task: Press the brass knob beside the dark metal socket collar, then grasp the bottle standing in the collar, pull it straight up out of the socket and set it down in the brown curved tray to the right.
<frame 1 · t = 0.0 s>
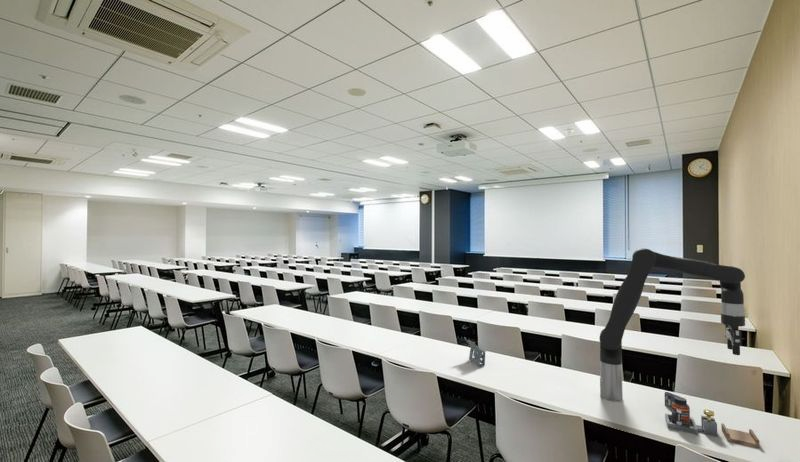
hand: (733, 352, 151), 29 cm above the table, fingers open, 8 cm apart
brass knob: (708, 419, 143), point 5 cm above the table, slide at 0.0 cm
mini dv tape: (675, 409, 163), on the table
bracket: (476, 363, 223), on the table
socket: (680, 426, 148), on the table
supplement bottle: (680, 426, 148), resting in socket
brown curved tray: (739, 438, 138), on the table
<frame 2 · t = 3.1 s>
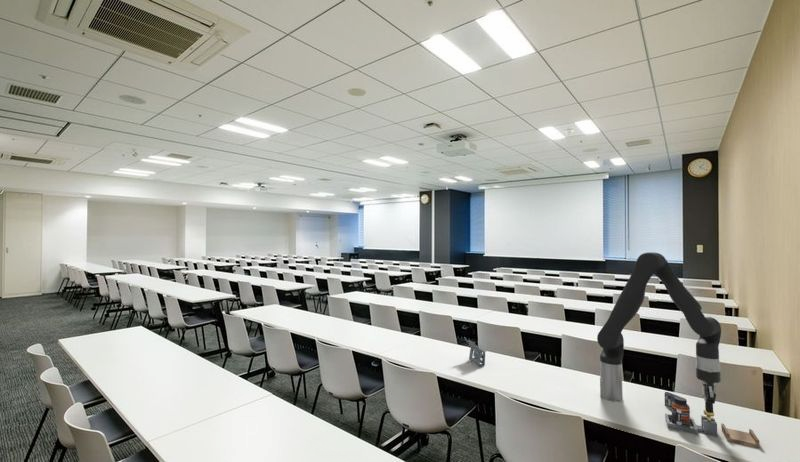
hand: (709, 411, 143), 8 cm above the table, fingers closed
brass knob: (708, 419, 143), point 5 cm above the table, slide at 0.1 cm, touching gripper
everything else where it was.
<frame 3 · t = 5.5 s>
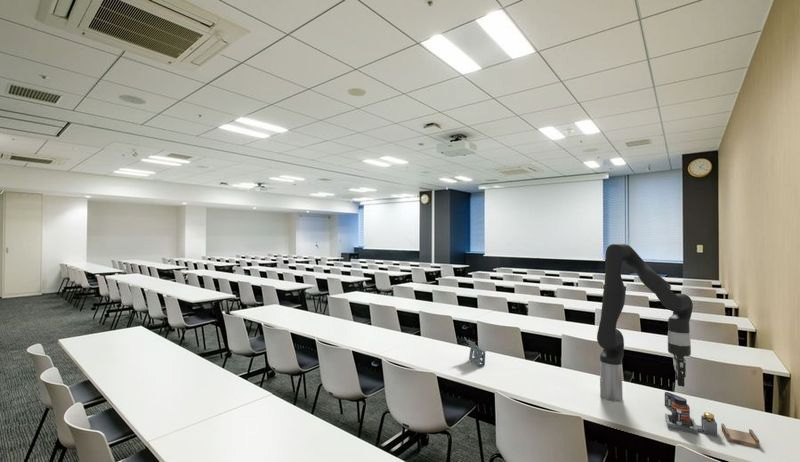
hand: (679, 383, 148), 18 cm above the table, fingers open, 6 cm apart
brass knob: (709, 422, 143), point 4 cm above the table, slide at 1.1 cm
everything else where it was.
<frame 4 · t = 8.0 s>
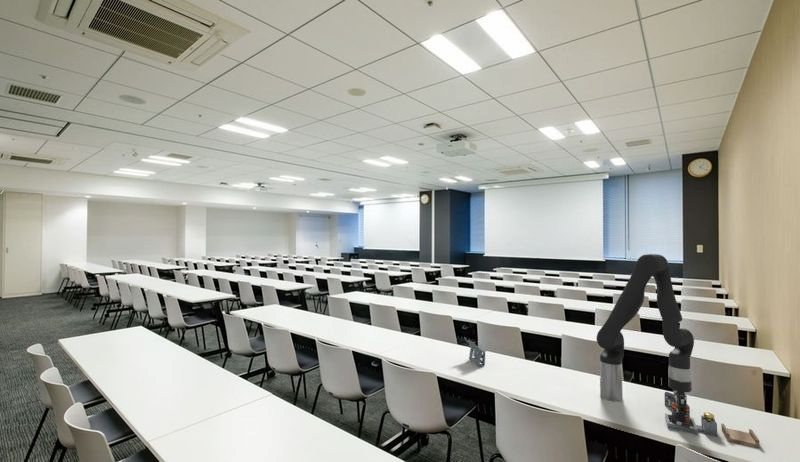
hand: (680, 418, 148), 3 cm above the table, fingers closed on supplement bottle, 6 cm apart
supplement bottle: (680, 426, 148), resting in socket, touching gripper
everything else where it was.
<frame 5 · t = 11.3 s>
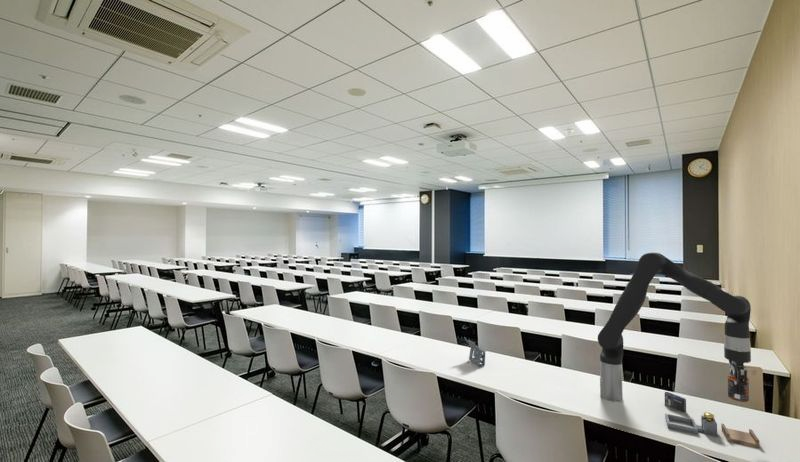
hand: (738, 391, 139), 18 cm above the table, fingers closed on supplement bottle, 6 cm apart
supplement bottle: (738, 399, 139), point 15 cm above the table, touching gripper
everything else where it was.
when the fingers open (6 cm above the table, at t = 14.4 s): supplement bottle drops 1 cm, resting on brown curved tray.
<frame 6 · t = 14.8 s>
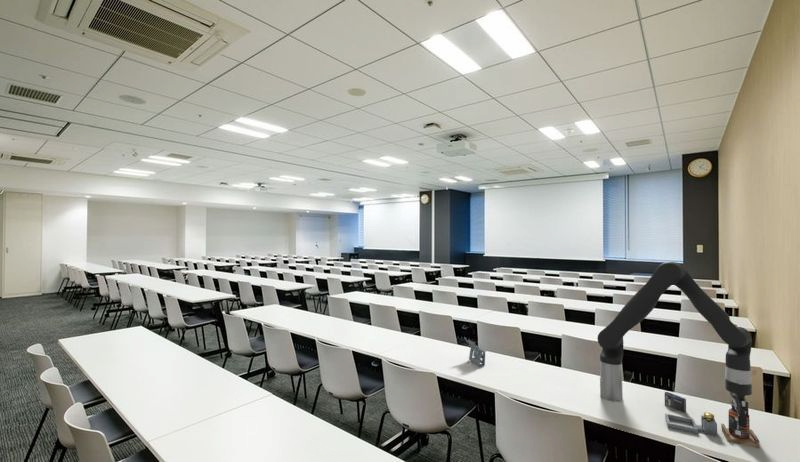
hand: (739, 421, 138), 6 cm above the table, fingers open, 8 cm apart
supplement bottle: (739, 435, 138), point 1 cm above the table, touching brown curved tray
everything else where it was.
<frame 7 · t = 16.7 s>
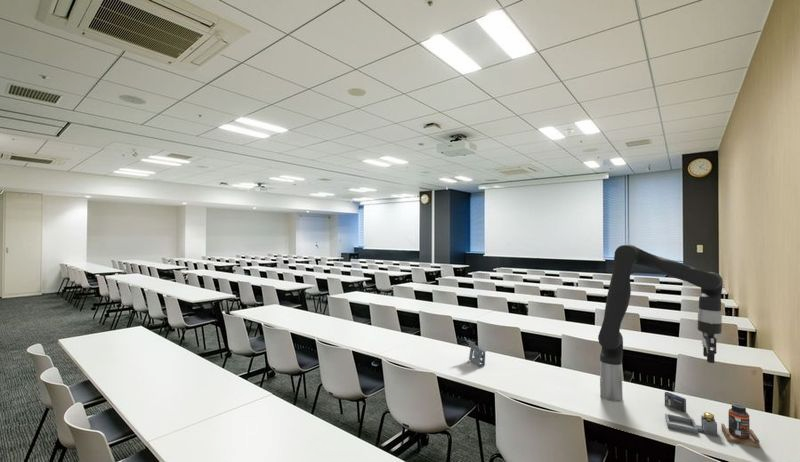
hand: (708, 359, 148), 27 cm above the table, fingers open, 8 cm apart
nothing on the table moved.
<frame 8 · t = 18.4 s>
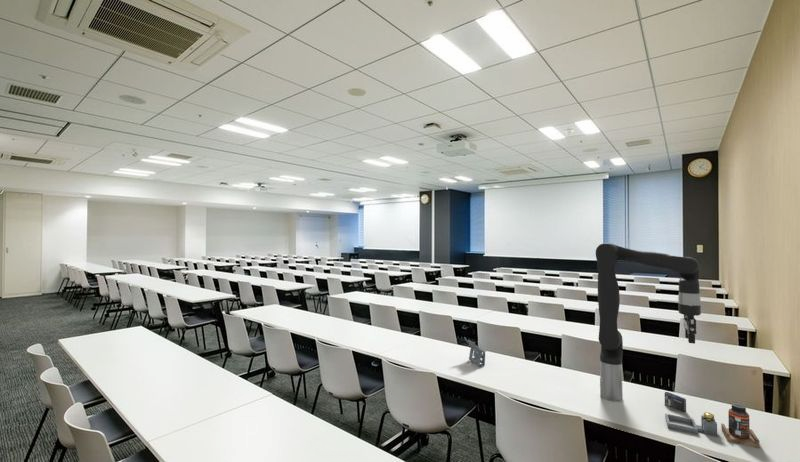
hand: (690, 340, 155), 33 cm above the table, fingers open, 8 cm apart
nothing on the table moved.
at the end: supplement bottle 0.3 cm from the brown curved tray (horizontally); supplement bottle touching brown curved tray; supplement bottle tilted 0° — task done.
